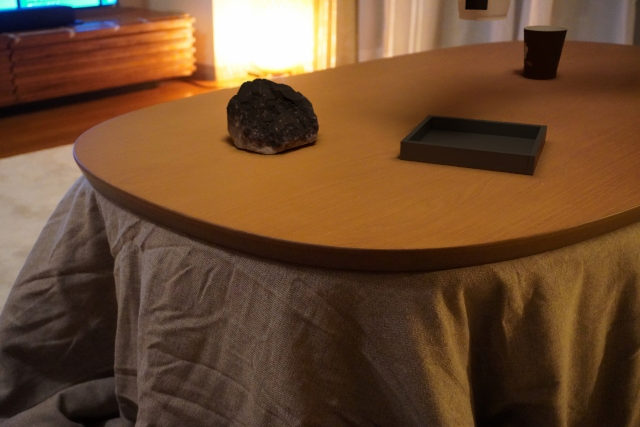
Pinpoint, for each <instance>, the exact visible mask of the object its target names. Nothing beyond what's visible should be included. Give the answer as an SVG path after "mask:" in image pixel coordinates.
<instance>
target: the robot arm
mask: <svg viewBox="0 0 640 427" xmlns="http://www.w3.org/2000/svg"><path fill="white" fill-rule="evenodd" d="M487 8H488V0H466V2H465V10H487Z"/></svg>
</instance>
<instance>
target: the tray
mask: <svg viewBox="0 0 640 427" xmlns="http://www.w3.org/2000/svg"><path fill="white" fill-rule="evenodd" d="M547 133H548V124H547V125H546V124H537V123H536V124H533V123H524V122H514V121H513V122H511V121H502V120H501V121H500V120H491V119H490V120H489V119H480V118H479V119H478V118H469V117H468V118H467V117H457V116H446V115H445V116H444V115H434V114H427V115H426V117H425V118H424V119H422V120H421V122H419V123H418V124H417V125H416V126H415V127H414V128H413V129H412V130H411V131H410V132H409V133H407V135H405V137H403V138H402V139H401V140H400V141H399V142H400V144H399V145H400V146H399V147H400V148H399V160H402V161H411V162H418V163H419V162H420V163H428V164H436V165H443V166H453V167H461V168H470V169H478V170H485V171H486V170H487V171H494V172H503V173H509V174H510V173H511V174H520V175H526V176H527V175H528V176H533V175H535V174H534V173H535V171H536V168H537V166H538V163H539V160H540V157H541V155H542V152H543V150H544V147H545V144H546V141H547V140H546V139H547Z"/></svg>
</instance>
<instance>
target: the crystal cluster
mask: <svg viewBox="0 0 640 427" xmlns="http://www.w3.org/2000/svg"><path fill="white" fill-rule="evenodd" d="M225 109H226V121H227V122H226V123H227V125H226V126H227V132H228V134H229V137H230V138H231V139H232V141H233V145H234V146H236V148H238V149H246V150H248V151H250V152H251V151H252V152H255V153H260V154H265V155H274V154H277V153H280V152H283V151H286V150H290V149H293V148H297V147H299V146H304V145H307V144H311V143H313V142H315V141H316V140H318V136H319V135H318V133H319V129H320V125H319V120H318V115H317V114H316V113H315V111H314V107H313V103H312V102H311V100H309V99H308V97H307V96H305V95H304V94H303V93H302V92H301V91H299V90H298V91H296V90H295V89H294V88H293V87H292V86H291V85H288V84H285V83H283V82H282V83H278V82H275V81H273V80H271V79H267V78H261V77H259V78H258V77H256V78H254V79H253V80H247V81H244V82H242V83H241V84H240V86H239V88H238V90H237V91H236V94H234V95H233V96H232V97H231V98H230V99H229V100H228V102H227V106H226V108H225Z"/></svg>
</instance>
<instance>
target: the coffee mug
mask: <svg viewBox="0 0 640 427" xmlns="http://www.w3.org/2000/svg"><path fill="white" fill-rule="evenodd" d="M567 33H568V27H566V26H560V25H547V24H546V25H545V24H544V25H543V24H542V25H541V24H540V25H527V26H524V27H523V77H524V78H526V79H531V80H540V81H544V80H545V81H547V80H548V81H549V80H554V79H555V78H556V76H557V73H558V69H559V65H560V61H561V57H562V53H563V48H564V45H565V40H566V37H567Z"/></svg>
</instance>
